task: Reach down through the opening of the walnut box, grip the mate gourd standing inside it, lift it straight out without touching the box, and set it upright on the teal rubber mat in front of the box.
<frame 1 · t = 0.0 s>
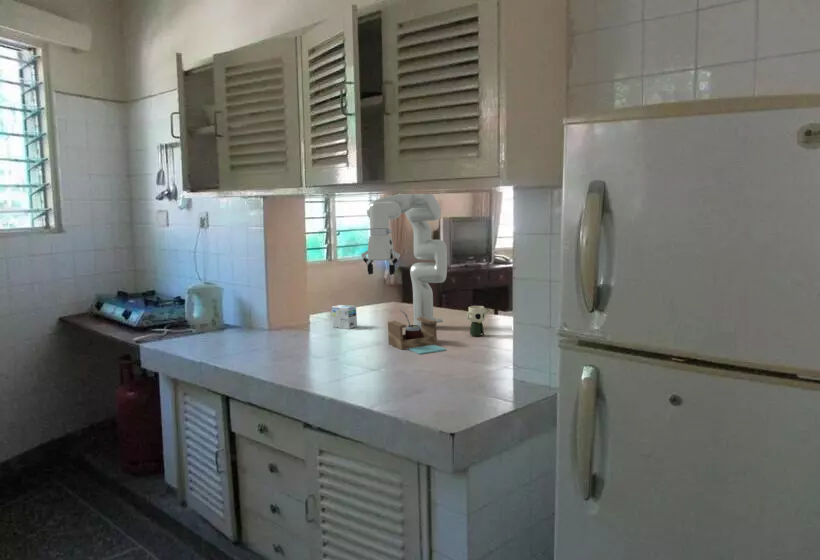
hand: (381, 274, 263), 31 cm above the countertop, tool pointing down, fingers open, 9 cm apart
walnut box: (412, 344, 273), on the countertop
teal mat: (427, 350, 261), on the countertop
light bulb box: (344, 327, 316), on the countertop
character mug: (477, 336, 286), on the countertop
mate gourd: (412, 344, 273), resting in walnut box
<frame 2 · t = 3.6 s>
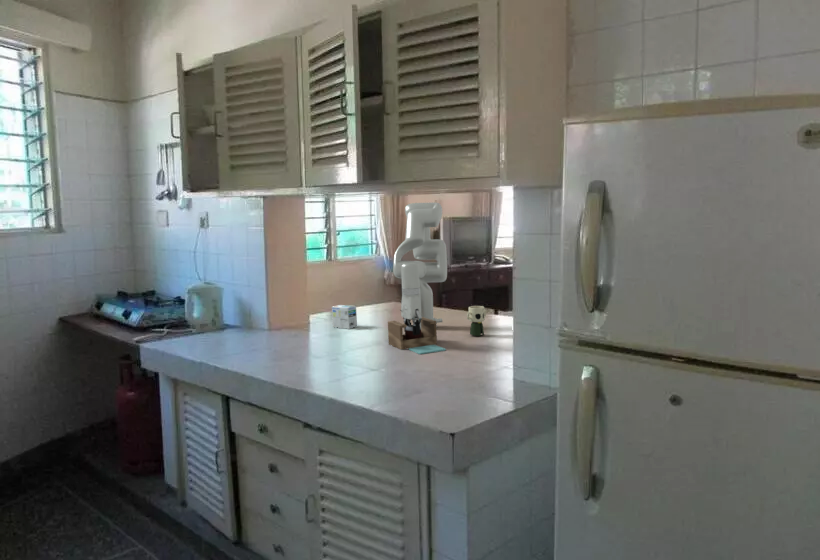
hand: (412, 333, 272), 5 cm above the countertop, tool pointing down, fingers closed on mate gourd, 7 cm apart
mate gourd: (412, 344, 273), resting in walnut box, touching gripper
everything else where it was.
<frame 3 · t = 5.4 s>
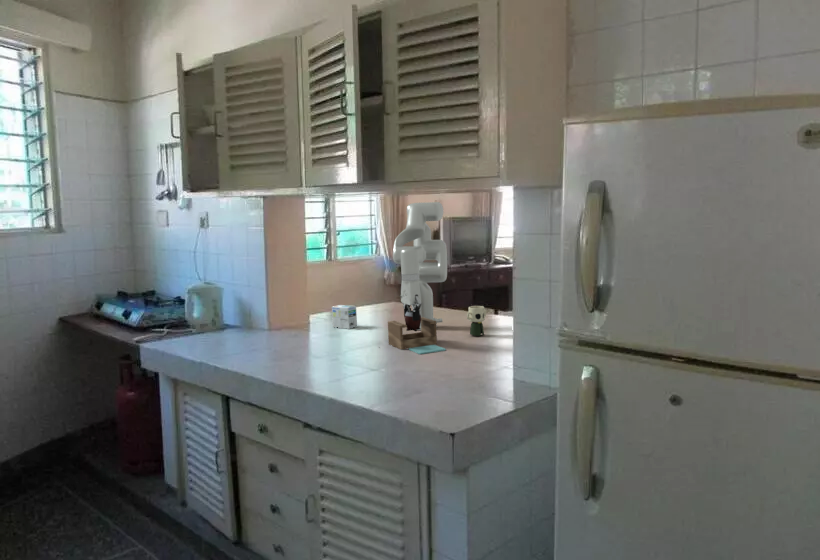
hand: (411, 318, 272), 11 cm above the countertop, tool pointing down, fingers closed on mate gourd, 7 cm apart
mate gourd: (412, 330, 273), point 6 cm above the countertop, touching gripper
everything else where it was.
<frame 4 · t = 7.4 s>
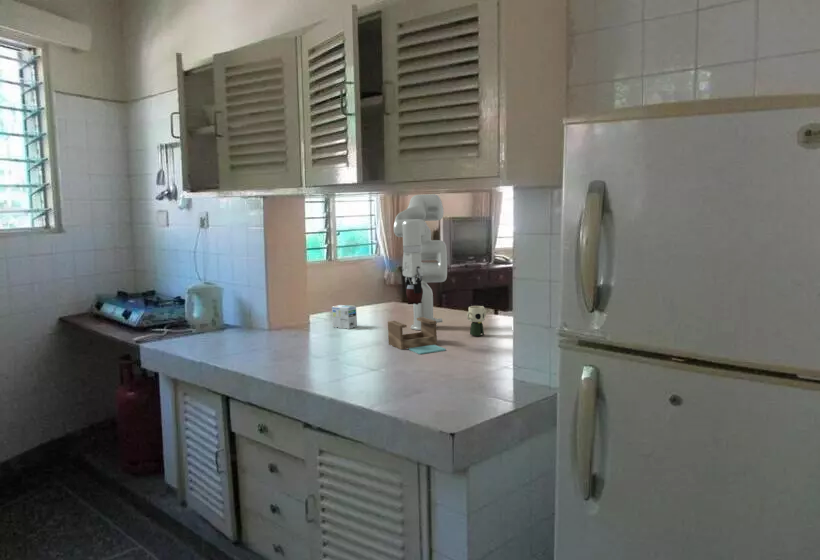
hand: (413, 291, 268), 23 cm above the countertop, tool pointing down, fingers closed on mate gourd, 7 cm apart
mate gourd: (413, 303, 269), point 18 cm above the countertop, touching gripper
everything else where it was.
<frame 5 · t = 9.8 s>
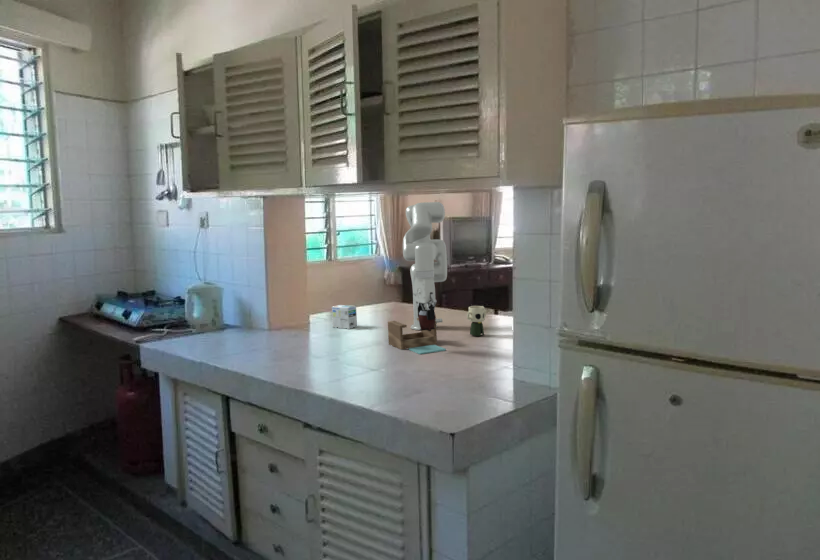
hand: (426, 317, 260), 13 cm above the countertop, tool pointing down, fingers closed on mate gourd, 7 cm apart
mate gourd: (426, 330, 261), point 8 cm above the countertop, touching gripper
everything else where it was.
when the fingers open (7 cm above the countertop, at t = 11.6 s): mate gourd drops 1 cm, resting on teal mat.
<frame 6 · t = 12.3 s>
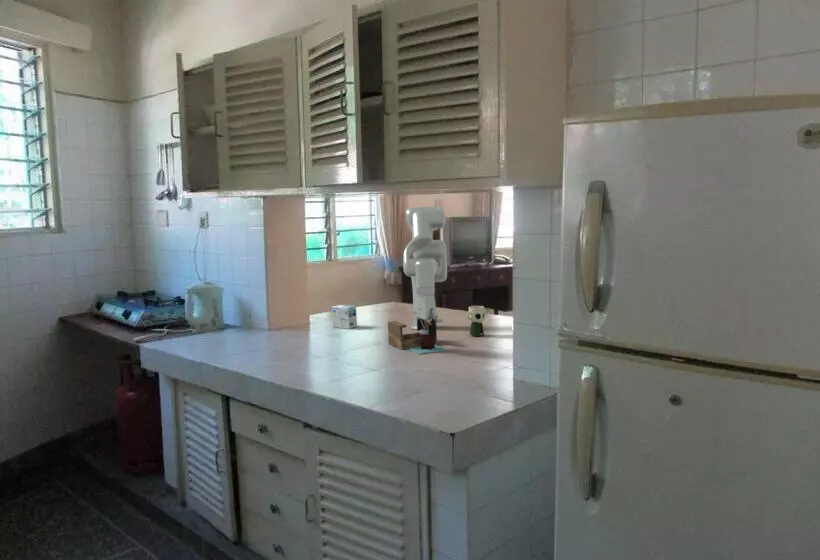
hand: (426, 332, 261), 7 cm above the countertop, tool pointing down, fingers open, 9 cm apart
mate gourd: (426, 348, 262), resting on teal mat
everything else where it was.
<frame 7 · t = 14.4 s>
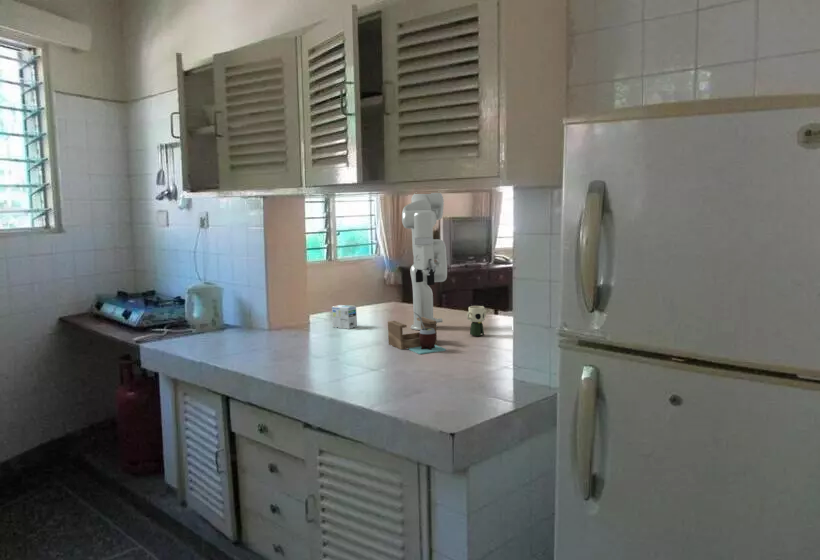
hand: (425, 283, 262), 27 cm above the countertop, tool pointing down, fingers open, 9 cm apart
nothing on the countertop moved.
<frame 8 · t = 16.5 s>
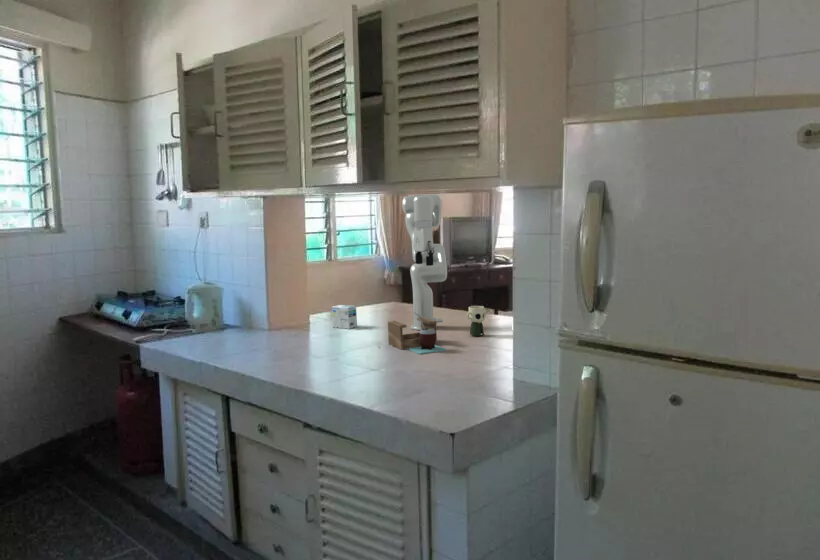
hand: (424, 264, 276), 33 cm above the countertop, tool pointing down, fingers open, 9 cm apart
nothing on the countertop moved.
at the end: mate gourd inside the target area on the teal mat (0.4 cm from its centre), point 0.4 cm above the teal mat's base; mate gourd tilted 0°; mate gourd touching teal mat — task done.
